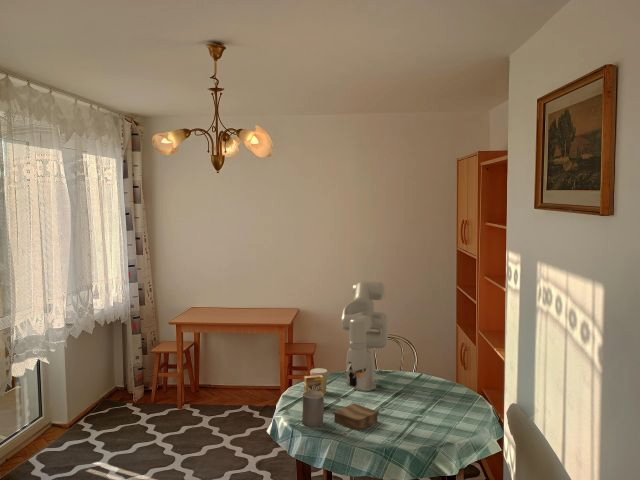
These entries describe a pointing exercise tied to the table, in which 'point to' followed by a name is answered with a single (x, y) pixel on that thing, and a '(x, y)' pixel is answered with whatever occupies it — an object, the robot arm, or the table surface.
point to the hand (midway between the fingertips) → (356, 384)
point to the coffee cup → (324, 373)
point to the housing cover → (360, 374)
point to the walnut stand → (355, 416)
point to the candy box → (313, 383)
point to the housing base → (357, 382)
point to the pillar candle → (313, 409)
